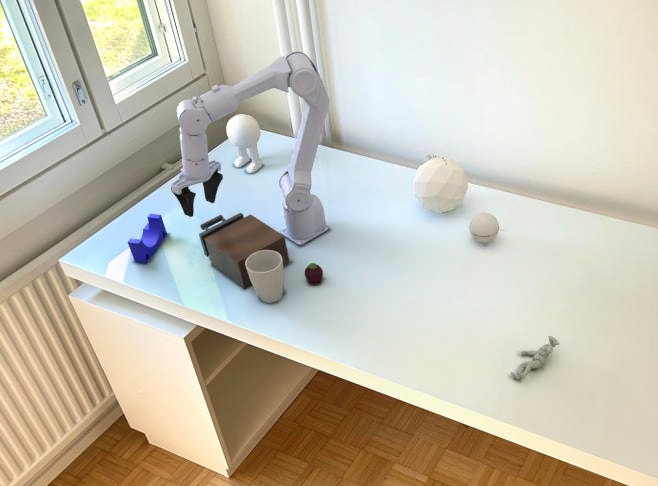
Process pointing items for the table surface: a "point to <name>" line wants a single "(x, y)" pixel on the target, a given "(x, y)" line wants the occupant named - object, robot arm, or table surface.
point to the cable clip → (148, 239)
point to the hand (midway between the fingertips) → (199, 208)
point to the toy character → (245, 140)
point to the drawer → (216, 228)
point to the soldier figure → (536, 358)
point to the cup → (266, 274)
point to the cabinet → (243, 247)
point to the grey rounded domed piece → (484, 227)
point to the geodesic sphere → (440, 184)
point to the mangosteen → (313, 273)
